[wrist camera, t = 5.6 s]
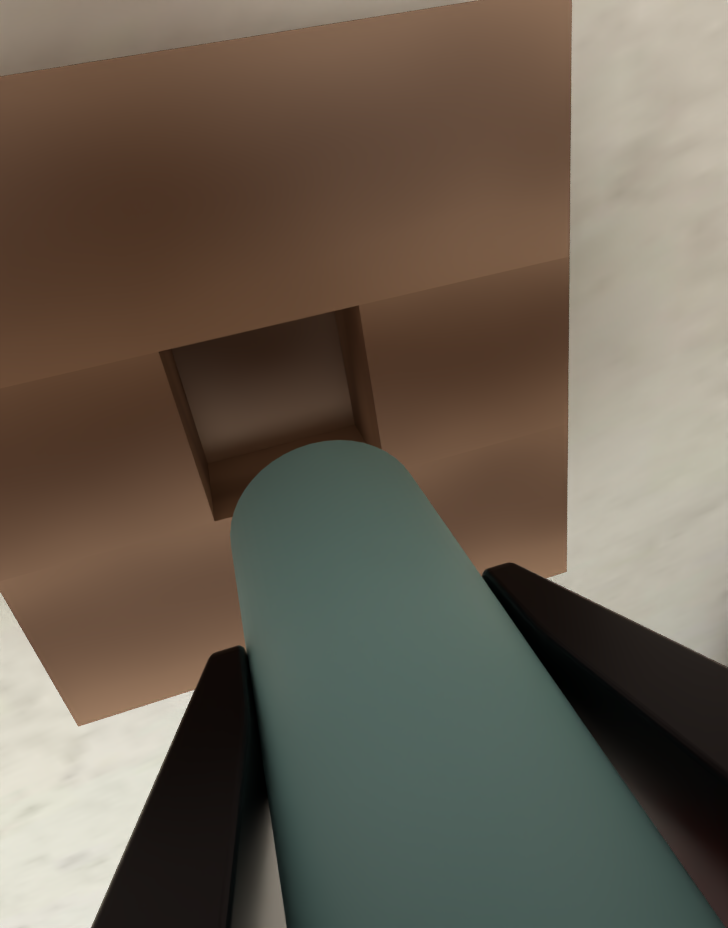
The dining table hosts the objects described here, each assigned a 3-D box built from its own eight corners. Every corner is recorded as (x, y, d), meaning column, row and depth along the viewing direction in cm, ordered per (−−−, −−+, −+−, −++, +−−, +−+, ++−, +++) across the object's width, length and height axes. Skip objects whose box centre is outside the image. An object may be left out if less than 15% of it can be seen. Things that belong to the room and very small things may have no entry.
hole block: (505, 502, 22) (566, 571, 19) (93, 623, 20) (78, 726, 17) (480, 17, 15) (571, -15, 12) (-157, 121, 13) (-273, 119, 10)
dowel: (430, 576, 12) (811, 1231, 5) (256, 628, 11) (399, 1448, 4) (410, 417, 10) (943, 1062, 3) (205, 471, 9) (302, 1377, 3)
